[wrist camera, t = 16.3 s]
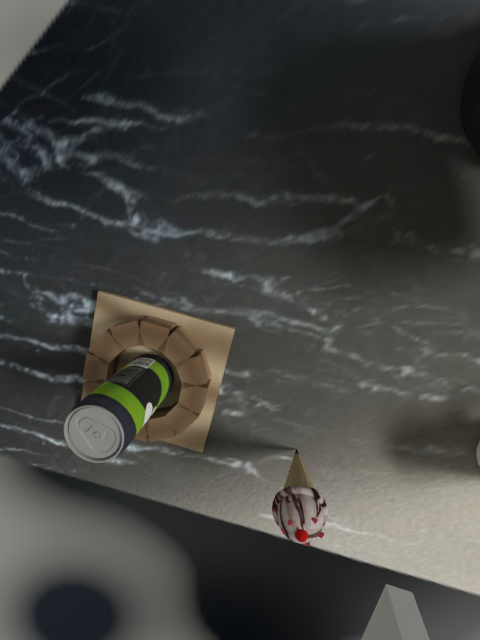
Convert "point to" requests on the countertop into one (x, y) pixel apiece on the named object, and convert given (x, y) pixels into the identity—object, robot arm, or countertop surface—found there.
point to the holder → (176, 349)
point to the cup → (478, 453)
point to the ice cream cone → (299, 506)
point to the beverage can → (118, 409)
